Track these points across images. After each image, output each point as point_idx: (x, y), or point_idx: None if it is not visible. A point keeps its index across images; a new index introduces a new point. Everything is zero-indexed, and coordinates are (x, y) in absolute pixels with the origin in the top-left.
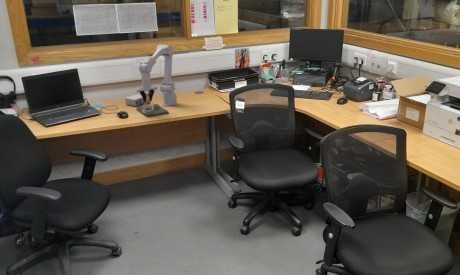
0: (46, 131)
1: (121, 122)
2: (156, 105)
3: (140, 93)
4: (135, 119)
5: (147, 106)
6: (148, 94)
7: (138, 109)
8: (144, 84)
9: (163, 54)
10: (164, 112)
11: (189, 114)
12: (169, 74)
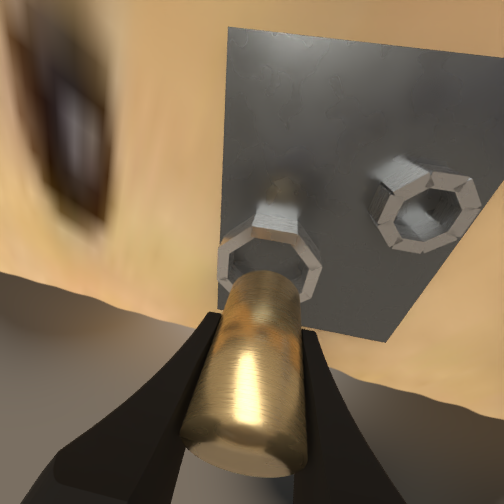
0: None
1: (62, 271)
2: (449, 195)
3: (92, 439)
4: (146, 281)
5: (386, 76)
6: (250, 470)
7: (224, 126)
8: None
9: None
10: (350, 334)
11: (445, 398)
12: None
